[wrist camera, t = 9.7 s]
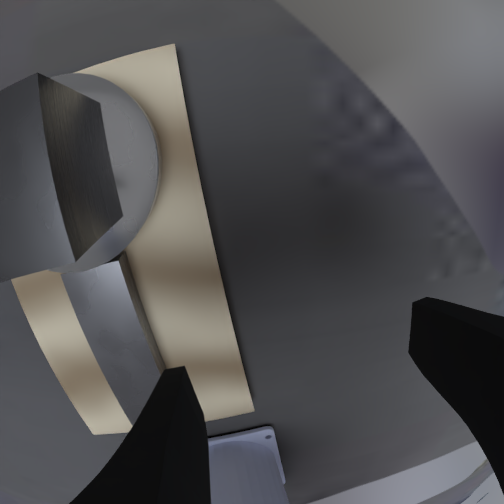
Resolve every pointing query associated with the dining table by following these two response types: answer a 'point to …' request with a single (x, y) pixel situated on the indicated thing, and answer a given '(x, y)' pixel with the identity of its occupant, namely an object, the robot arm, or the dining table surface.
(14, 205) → the charcoal matte cube
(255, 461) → the robot arm
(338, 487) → the dining table surface
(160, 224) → the board
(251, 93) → the dining table surface
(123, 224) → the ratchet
